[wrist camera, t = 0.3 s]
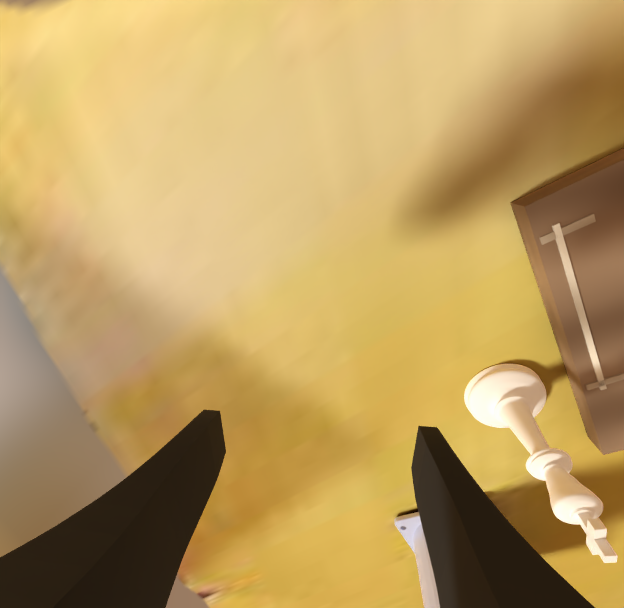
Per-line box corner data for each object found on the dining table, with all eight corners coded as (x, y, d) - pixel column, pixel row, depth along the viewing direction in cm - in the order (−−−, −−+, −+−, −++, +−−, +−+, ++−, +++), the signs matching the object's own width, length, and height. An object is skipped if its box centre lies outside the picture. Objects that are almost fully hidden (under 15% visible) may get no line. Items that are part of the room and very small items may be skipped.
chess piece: (541, 356, 21) (695, 514, 11) (542, 415, 22) (675, 592, 13) (460, 370, 22) (541, 524, 12) (467, 425, 23) (543, 595, 14)
